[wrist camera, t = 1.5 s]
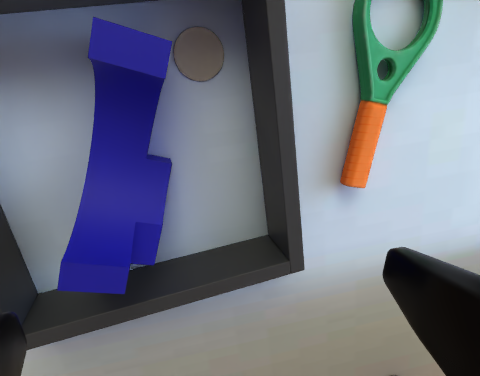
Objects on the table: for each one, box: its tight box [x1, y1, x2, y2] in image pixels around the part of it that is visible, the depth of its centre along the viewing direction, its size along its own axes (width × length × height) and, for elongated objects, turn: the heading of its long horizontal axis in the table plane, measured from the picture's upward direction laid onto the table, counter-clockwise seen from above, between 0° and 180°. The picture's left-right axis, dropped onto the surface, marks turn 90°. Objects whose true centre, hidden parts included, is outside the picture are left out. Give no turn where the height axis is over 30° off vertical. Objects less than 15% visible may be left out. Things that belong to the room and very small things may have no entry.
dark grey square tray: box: [0, 0, 304, 350], centre depth 18 cm, size 18×18×4 cm
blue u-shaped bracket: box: [57, 17, 172, 294], centre depth 17 cm, size 12×4×6 cm, turn 165°
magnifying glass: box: [340, 0, 443, 188], centre depth 22 cm, size 15×6×2 cm, turn 169°
